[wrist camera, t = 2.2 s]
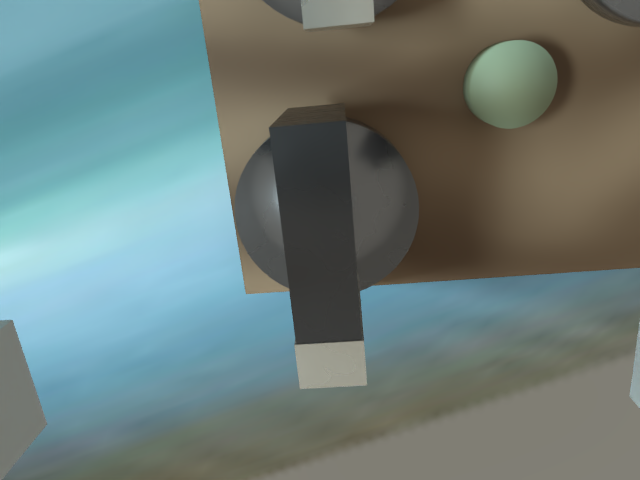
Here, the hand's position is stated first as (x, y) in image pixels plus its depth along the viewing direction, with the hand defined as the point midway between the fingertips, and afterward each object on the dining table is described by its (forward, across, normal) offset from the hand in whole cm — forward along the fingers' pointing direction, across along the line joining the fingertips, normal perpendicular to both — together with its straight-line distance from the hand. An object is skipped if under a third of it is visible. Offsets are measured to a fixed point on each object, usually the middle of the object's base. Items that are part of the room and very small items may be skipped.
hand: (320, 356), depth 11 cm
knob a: (+11, 0, 0) cm, 11 cm away
